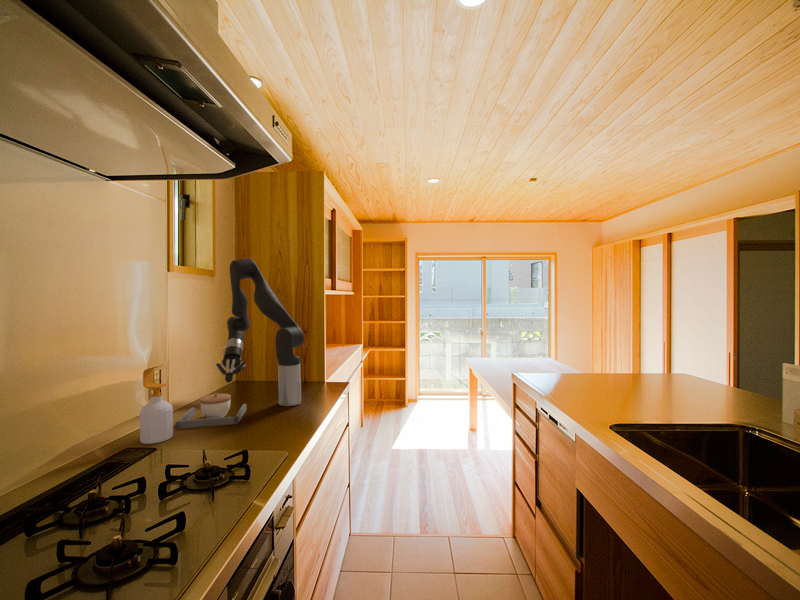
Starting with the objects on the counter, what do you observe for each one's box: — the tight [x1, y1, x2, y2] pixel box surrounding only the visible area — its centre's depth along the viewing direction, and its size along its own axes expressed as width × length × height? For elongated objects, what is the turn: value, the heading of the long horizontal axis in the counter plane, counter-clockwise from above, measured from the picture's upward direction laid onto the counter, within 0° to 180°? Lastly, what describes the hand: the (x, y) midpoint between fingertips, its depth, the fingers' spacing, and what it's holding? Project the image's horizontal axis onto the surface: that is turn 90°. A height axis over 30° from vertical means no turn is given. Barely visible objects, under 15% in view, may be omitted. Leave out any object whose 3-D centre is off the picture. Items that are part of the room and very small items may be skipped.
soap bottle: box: [139, 363, 174, 445], centre depth 119 cm, size 9×9×25 cm
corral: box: [175, 403, 247, 430], centre depth 139 cm, size 20×17×2 cm
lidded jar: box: [199, 392, 232, 418], centre depth 140 cm, size 11×11×9 cm
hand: (228, 381), depth 161 cm, fingers closed
